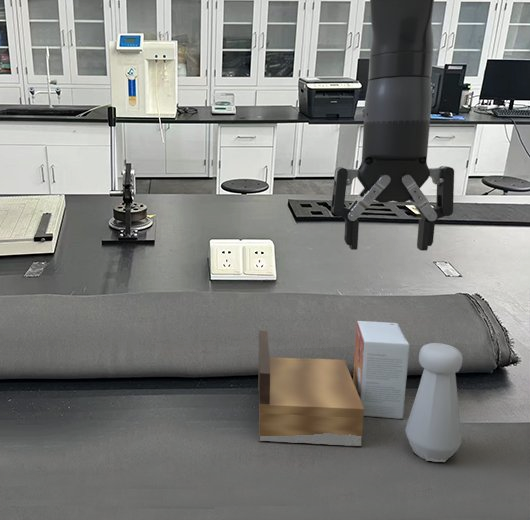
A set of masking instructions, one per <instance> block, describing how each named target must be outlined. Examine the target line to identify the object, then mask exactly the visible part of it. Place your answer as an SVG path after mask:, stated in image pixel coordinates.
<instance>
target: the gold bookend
mask: <svg viewBox="0 0 530 520" xmlns="http://www.w3.org/2000/svg"><path fill="white" fill-rule="evenodd" d="M268 333H269V332H268V330H258V372H257V373H258V374H257V375H258V376H257V377H258V378H257V381H258V382H257V393H258V437H259V436H294V435H314V434H323V433H331V434H338V435H349V434H351V435H356V436H362V437H363V431H364V418H365V416H364V407H363V405H362V402H361V400H360V397H359V395H358V392H357V390H356V387H355V385H354V382H353V377H352V375H351V372H350V371H349V368H348V365H347V363H346V360H345V359H333V358H306V357H305V358H304V357H303V358H301V357H272V356H270V348H269V346H270V345H269V334H268Z"/></svg>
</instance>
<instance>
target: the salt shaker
mask: <svg viewBox="0 0 530 520" xmlns="http://www.w3.org/2000/svg"><path fill="white" fill-rule="evenodd" d="M463 360H464V359H463V353H461V352H460V350H459V349H458V348H456V347H455V346H452V345H450V344H446V343H440V342H430V343H426V344H424V345H423V346H421V348H420V349H419V353H418V362H419V365H420V366H421V367H422V368H423V371H422V374H421V377H420V381H419V385H418V389H417V392H416V395H415V398H414V400H413V403H412V407H411V411H410V414H409V416H408V420H407V423H406V426H405V435H406V438H407V440H408V443H409V446H410V445H411V446H413V447H414V448H415V449H416V450H417V451H418V452H419V453H421V454H423V455H424V456H425V457H427V458H433V459H437V460H441V459H442V460H447V459H448V458H449V457H451V456H453V455H454V454H455V453H456V452H457V451H458V450H459V448H460V446H461V444H462V442H463V441H462V440H463V436H462V426H461V425H462V424H461V417H460V407H459V397H458V386H457V376H456V373H459V371H460V370H461V368H462V365H463V362H464V361H463ZM411 446H410V447H411ZM451 458H452V457H451Z"/></svg>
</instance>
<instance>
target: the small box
mask: <svg viewBox="0 0 530 520" xmlns="http://www.w3.org/2000/svg"><path fill="white" fill-rule="evenodd" d="M410 346H411V345H410V343H409V341H407V338H406V336H405V335H404V333H403V331H402V329H401V327H400V324H399V323H398V322H387V321H386V322H385V321H368V320H357V321H356V331H355V345H354V359H353V361H354V362H353V374H352V375H353V377H352V380H353V382H354V385H355V387H356V390H357V392H358V395H359V397H360V400H361V402H362V405H363V407H364V417H373V418H384V419H397V420H402V419H403V418H404V412H405V398H406V388H407V377H408V366H409V357H410Z"/></svg>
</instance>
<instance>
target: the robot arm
mask: <svg viewBox="0 0 530 520" xmlns="http://www.w3.org/2000/svg"><path fill="white" fill-rule="evenodd" d="M434 5H435V0H369V6H370V23H371V42H370V43H371V44H370V50H369V61H368V62H369V63H368V78H367V79H368V81H367V88H366V93H365V99H364V110H363V111H362V112H363V115H362V117H363V131H362V132H363V133H362V134H363V135H362V147H361V148H362V150H361V162H360V165H359V167H358V169H357V168H345V167H342V166H339V167H336V168H335V170H334V176H333V187H332V197H331V204H330V211H331V212H332V214H334V215H335V216H338V217H340V218H343V219H344V236H343V237H344V242H345V244H346V245H347V246H348V248H349V249H350V250H352V251H353V250H354V251H355V250H356V251H358V245H359V229H360V228H359V226H360V221H359V220H358V218H360V216H361V215H362V214H363V213H364V211H365V210H366V209H368V208H369V207H370V206H371V205H372V203H374V202H378V203H381V204H382V203H384V204H385V203H389V202H396V203H407V202H408V201H409V202H410V203H411V204H412V206H413V207H414V208H415V209H416V210H417V212H418V213H419V214H420V216H421V219H418V226H417V227H418V229H417V239H416V248H417V249H418V250H419V251H425V252H426V251H428V249H429V247H432V245H433V244H434V237H435V226H436V225H435V224H436V221H438V219H441V218H443V217H450V216H452V215H453V213H454V194H455V169H454V168H453V167H450V166H446V165H441V166H439V167H431V168H429V166H428V149H429V137H430V126H431V115H432V114H431V112H432V101H433V94H432V93H433V92H432V91H433V90H432V78H431V77H432V73H433V60H434V47H435V46H434V42H435V41H434V32H433V26H432V25H433V24H432V23H433V14H434V12H433V11H434ZM356 178H357V180H358V181H359V183H360V184H361V186H362V187H363V189H362V190H361V191H360V192H359V193H358V194H357V196H355V198H354V200H353V202H351V204H350V205H349V206H348V207H346V206H345V202H346V191H347V187H348V186H351V185H352V184H353V181H354V180H355V179H356ZM429 178H431V181H432V183H433V184H434V185H436V204H435V205H436V206H432V205H431V203H430V201H429V200H428V198H427V197H426V195H425V194H424V193H423V191H422V190H421V188H422V187H423V185H424V184H425V183H426V182H427V181H428V180H429Z"/></svg>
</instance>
